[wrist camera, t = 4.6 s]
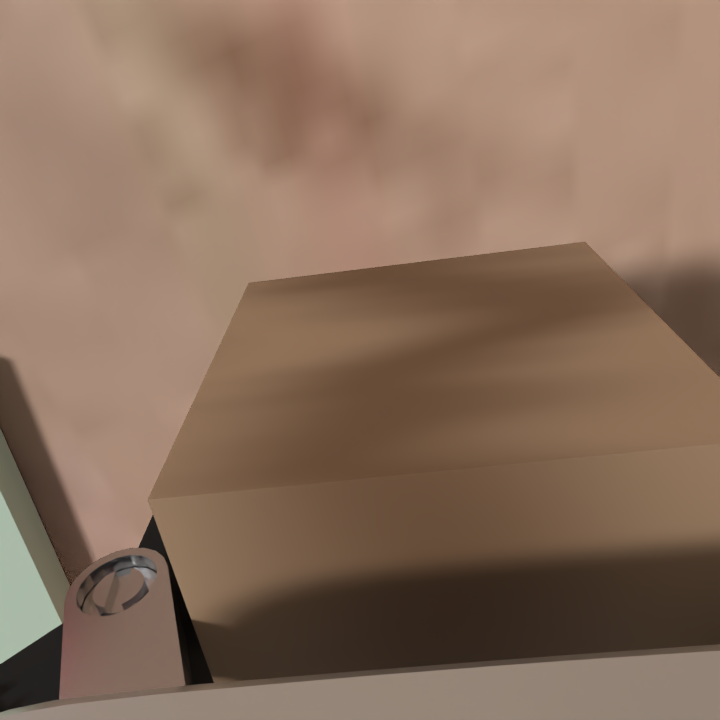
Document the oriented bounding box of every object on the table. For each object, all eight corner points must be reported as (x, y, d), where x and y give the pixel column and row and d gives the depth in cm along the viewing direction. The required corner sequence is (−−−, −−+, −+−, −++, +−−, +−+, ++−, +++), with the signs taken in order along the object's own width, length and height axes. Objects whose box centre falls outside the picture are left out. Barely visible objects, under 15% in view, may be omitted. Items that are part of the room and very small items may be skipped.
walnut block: (584, 242, 11) (779, 438, 6) (577, 508, 14) (705, 805, 9) (248, 282, 12) (147, 499, 6) (305, 532, 14) (268, 830, 9)
